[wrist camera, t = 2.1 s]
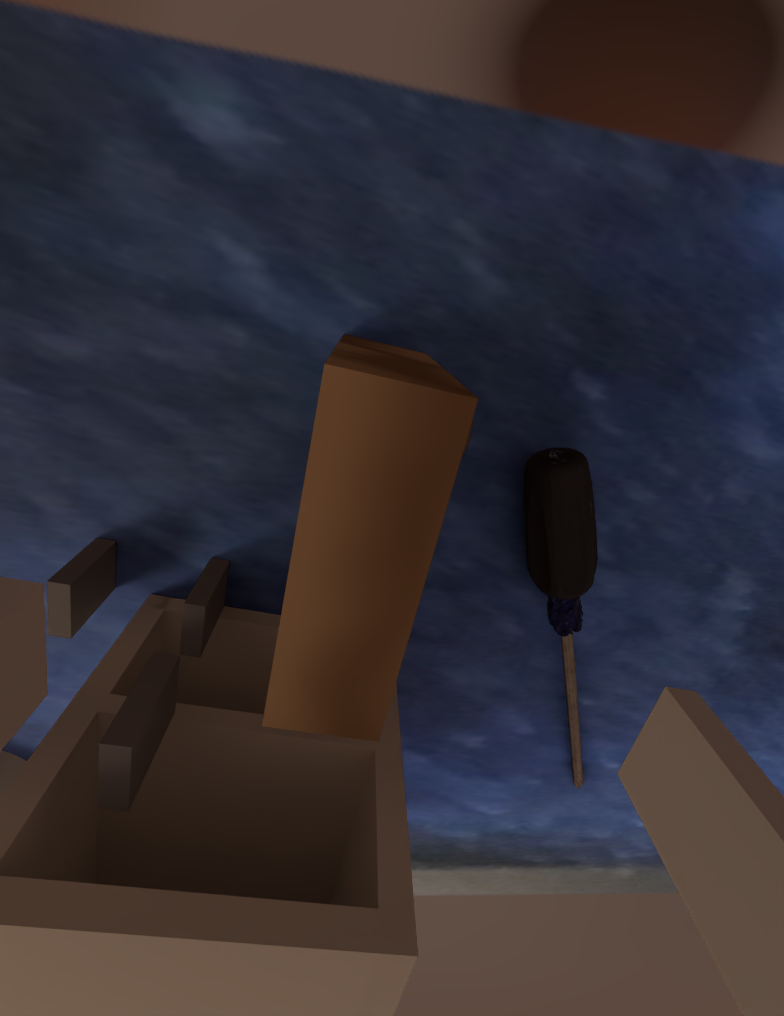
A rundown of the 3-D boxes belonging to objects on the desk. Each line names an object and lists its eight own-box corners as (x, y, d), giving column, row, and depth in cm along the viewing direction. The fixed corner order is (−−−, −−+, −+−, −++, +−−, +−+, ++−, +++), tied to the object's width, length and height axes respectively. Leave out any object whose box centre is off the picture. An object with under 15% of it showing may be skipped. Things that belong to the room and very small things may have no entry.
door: (303, 556, 28) (261, 726, 17) (343, 334, 23) (324, 363, 12) (394, 572, 28) (412, 745, 17) (450, 359, 24) (522, 408, 13)
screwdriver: (601, 779, 36) (627, 831, 32) (551, 789, 36) (571, 841, 32) (572, 431, 26) (605, 451, 22) (503, 446, 26) (524, 469, 22)
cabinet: (94, 787, 34) (-120, 1170, 19) (96, 537, 27) (-239, 831, 12) (342, 815, 36) (325, 1177, 21) (404, 590, 29) (443, 894, 14)
